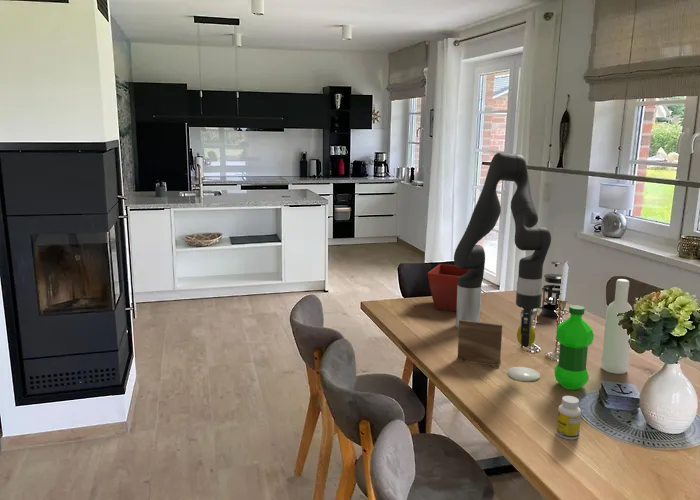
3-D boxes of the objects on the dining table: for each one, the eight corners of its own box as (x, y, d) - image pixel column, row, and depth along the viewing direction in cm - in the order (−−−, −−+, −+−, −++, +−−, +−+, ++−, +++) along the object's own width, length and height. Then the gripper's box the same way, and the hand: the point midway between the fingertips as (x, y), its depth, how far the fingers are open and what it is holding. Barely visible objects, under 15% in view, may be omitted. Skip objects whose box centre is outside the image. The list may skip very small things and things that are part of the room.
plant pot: (469, 316, 240) (471, 277, 236) (425, 310, 248) (426, 272, 244) (479, 304, 257) (481, 267, 253) (438, 299, 265) (439, 263, 261)
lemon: (516, 349, 177) (518, 325, 175) (515, 343, 182) (517, 319, 181) (535, 351, 176) (537, 326, 174) (533, 344, 181) (535, 320, 180)
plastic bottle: (571, 376, 179) (577, 300, 174) (596, 390, 170) (603, 310, 165) (545, 381, 176) (551, 304, 171) (569, 395, 166) (576, 314, 161)
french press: (560, 311, 246) (564, 259, 242) (569, 318, 237) (573, 264, 233) (533, 311, 246) (537, 259, 242) (541, 318, 237) (545, 264, 232)
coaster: (509, 366, 187) (509, 365, 187) (541, 371, 183) (541, 369, 183) (505, 378, 178) (505, 376, 178) (538, 383, 174) (538, 381, 174)
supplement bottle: (552, 429, 147) (555, 394, 145) (572, 428, 148) (576, 393, 146) (562, 440, 142) (565, 404, 140) (583, 439, 142) (586, 403, 140)
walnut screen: (459, 356, 196) (460, 317, 193) (500, 362, 190) (503, 322, 188) (456, 361, 191) (457, 322, 188) (498, 368, 186) (501, 327, 183)
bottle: (616, 375, 180) (625, 284, 174) (595, 367, 187) (603, 278, 181) (632, 371, 184) (642, 281, 178) (611, 362, 191) (620, 276, 185)
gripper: (540, 298, 167) (536, 352, 171) (543, 286, 181) (539, 337, 184) (514, 295, 170) (510, 349, 174) (518, 284, 183) (515, 334, 187)
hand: (525, 342), depth 179 cm, fingers closed on lemon, 5 cm apart
